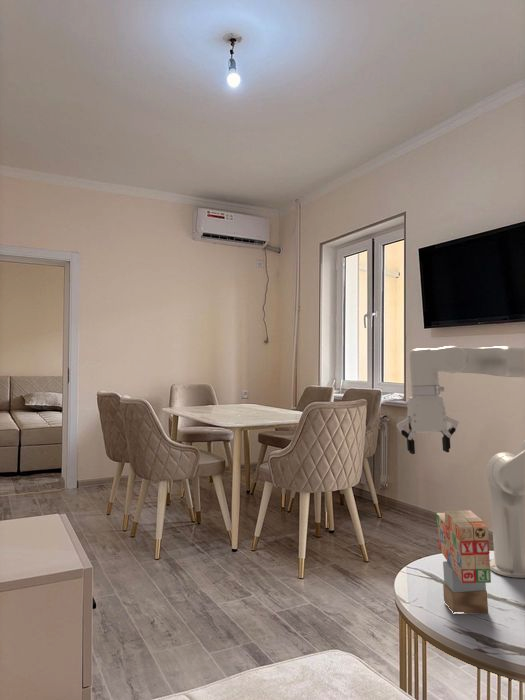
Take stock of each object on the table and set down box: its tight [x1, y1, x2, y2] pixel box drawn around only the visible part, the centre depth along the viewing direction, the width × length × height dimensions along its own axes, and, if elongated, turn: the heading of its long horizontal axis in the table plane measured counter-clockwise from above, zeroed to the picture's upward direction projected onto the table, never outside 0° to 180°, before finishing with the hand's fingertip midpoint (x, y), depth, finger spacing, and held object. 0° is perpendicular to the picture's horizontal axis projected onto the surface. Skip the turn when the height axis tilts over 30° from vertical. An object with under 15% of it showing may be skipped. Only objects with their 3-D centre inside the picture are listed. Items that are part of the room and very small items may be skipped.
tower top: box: [442, 560, 487, 593], centre depth 124 cm, size 8×6×5 cm
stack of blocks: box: [435, 509, 492, 584], centre depth 124 cm, size 21×6×12 cm, turn 175°
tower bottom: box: [442, 581, 489, 614], centre depth 123 cm, size 8×6×5 cm
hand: (429, 452), depth 149 cm, fingers open, 9 cm apart
